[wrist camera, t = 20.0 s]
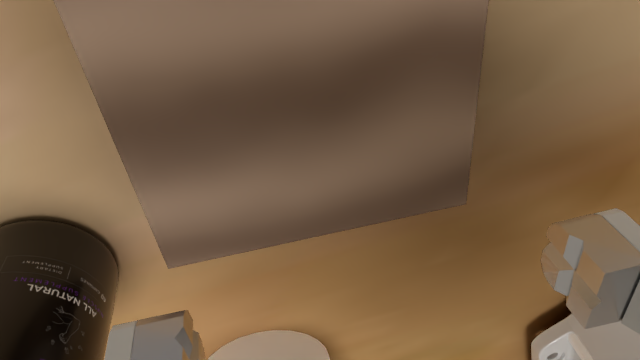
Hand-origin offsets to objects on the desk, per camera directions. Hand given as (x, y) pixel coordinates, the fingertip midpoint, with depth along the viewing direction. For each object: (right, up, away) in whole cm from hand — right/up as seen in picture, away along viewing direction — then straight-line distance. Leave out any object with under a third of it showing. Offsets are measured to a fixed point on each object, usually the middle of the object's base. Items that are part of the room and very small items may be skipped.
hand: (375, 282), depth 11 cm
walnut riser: (-3, +8, +10) cm, 13 cm away
